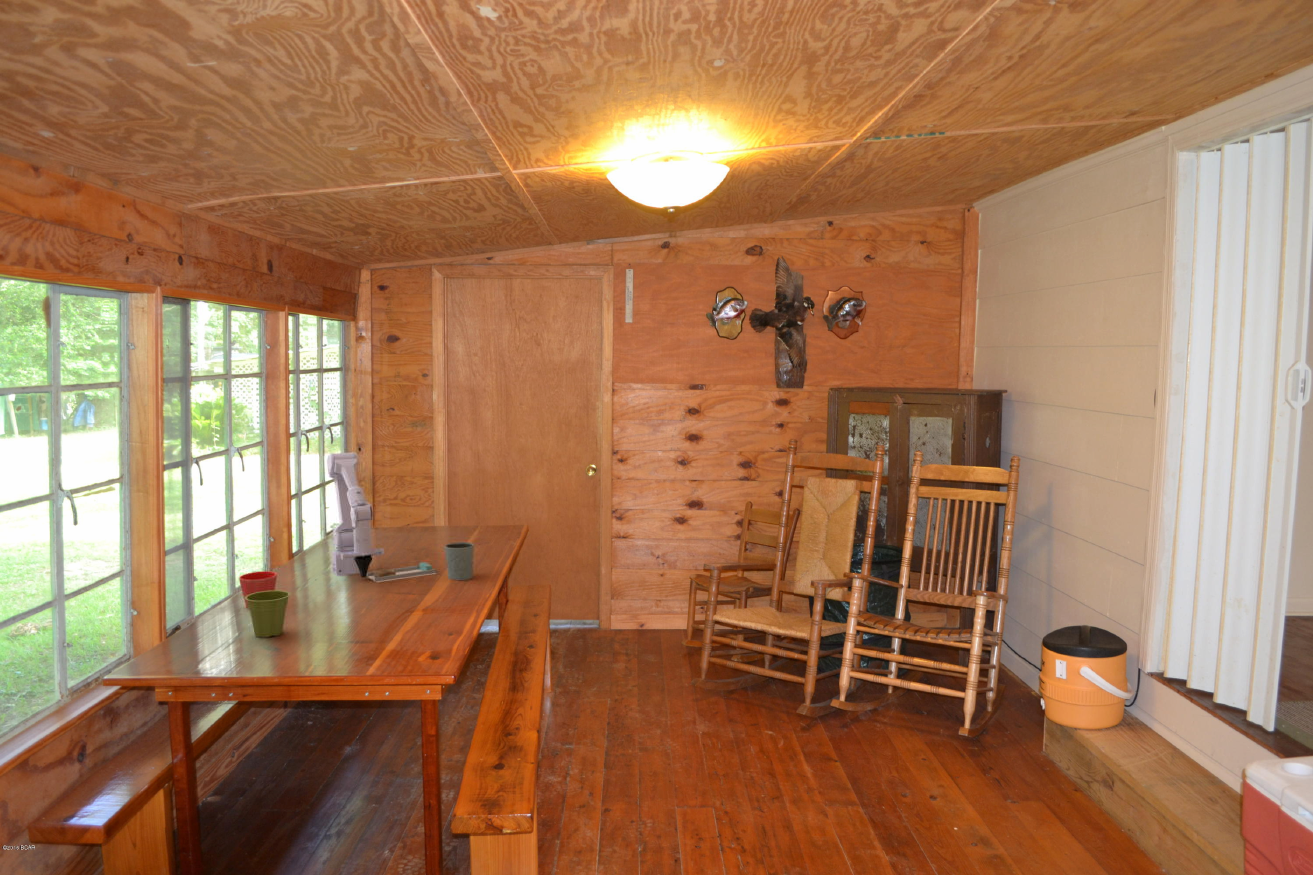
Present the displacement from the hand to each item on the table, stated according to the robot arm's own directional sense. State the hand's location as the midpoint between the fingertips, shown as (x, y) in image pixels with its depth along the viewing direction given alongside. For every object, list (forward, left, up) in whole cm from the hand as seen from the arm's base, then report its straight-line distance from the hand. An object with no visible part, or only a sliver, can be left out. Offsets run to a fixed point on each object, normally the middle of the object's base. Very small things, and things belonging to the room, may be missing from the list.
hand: (363, 577), depth 309 cm
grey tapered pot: (+30, -15, -2) cm, 33 cm away
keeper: (+8, 0, -1) cm, 8 cm away
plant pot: (-40, -44, -2) cm, 60 cm away
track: (+14, 0, -2) cm, 14 cm away
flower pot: (-36, -11, -2) cm, 38 cm away
